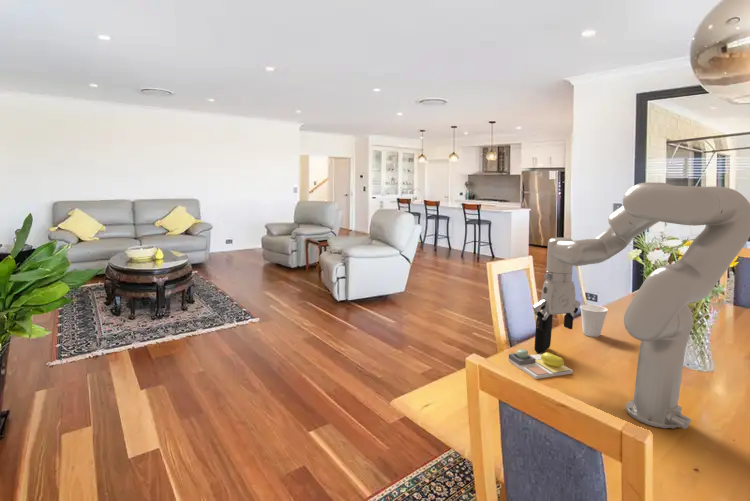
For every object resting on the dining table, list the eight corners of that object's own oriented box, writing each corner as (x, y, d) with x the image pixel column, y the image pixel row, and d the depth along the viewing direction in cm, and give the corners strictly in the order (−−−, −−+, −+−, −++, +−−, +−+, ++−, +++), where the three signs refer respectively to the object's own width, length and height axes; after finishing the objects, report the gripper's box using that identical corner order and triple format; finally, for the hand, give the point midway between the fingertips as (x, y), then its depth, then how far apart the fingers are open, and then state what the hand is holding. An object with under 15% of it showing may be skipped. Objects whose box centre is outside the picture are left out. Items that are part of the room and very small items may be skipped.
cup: (611, 337, 168) (614, 310, 166) (592, 340, 165) (595, 312, 163) (590, 329, 177) (592, 303, 176) (572, 332, 174) (574, 305, 172)
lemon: (545, 359, 144) (546, 348, 143) (566, 368, 137) (567, 357, 136) (537, 361, 142) (538, 350, 141) (558, 371, 135) (559, 359, 134)
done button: (530, 358, 142) (530, 352, 141) (520, 359, 141) (521, 353, 140) (523, 354, 145) (523, 348, 145) (514, 355, 144) (514, 349, 144)
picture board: (572, 373, 136) (573, 365, 136) (535, 379, 132) (536, 371, 132) (543, 356, 149) (543, 349, 149) (508, 360, 145) (508, 353, 145)
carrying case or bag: (539, 357, 148) (542, 316, 146) (531, 355, 150) (533, 314, 148) (551, 348, 156) (554, 309, 154) (543, 346, 158) (546, 308, 156)
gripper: (543, 281, 129) (540, 336, 131) (590, 277, 134) (586, 330, 136) (527, 276, 136) (525, 328, 138) (572, 273, 141) (569, 323, 143)
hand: (555, 329), depth 137 cm, fingers open, 9 cm apart
